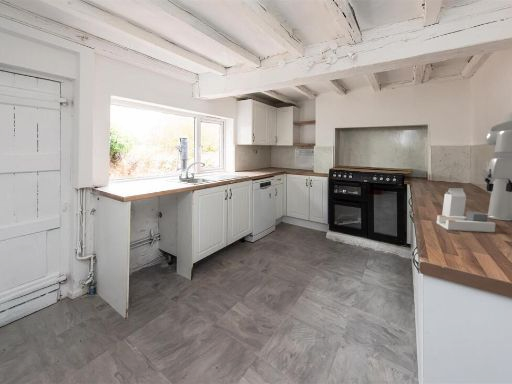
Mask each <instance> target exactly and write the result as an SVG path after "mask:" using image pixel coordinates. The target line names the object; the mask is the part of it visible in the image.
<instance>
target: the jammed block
mask: <svg viewBox="0 0 512 384" xmlns="http://www.w3.org/2000/svg"><path fill="white" fill-rule="evenodd" d="M465 217H466V220H465V221H482V222H488V215H487V214H486V213H483V212H482V211H481V212H480V211H466V213H465Z"/></svg>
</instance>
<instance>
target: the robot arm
mask: <svg viewBox="0 0 512 384" xmlns="http://www.w3.org/2000/svg"><path fill="white" fill-rule="evenodd" d="M484 142H485V144H486V145H487V146H489V147H490V146H491V147H493V146H495V147H494V153H493V158H491V159H490V161H489V163H488V167H487V171H486V172H485V173H483V174H481V178H482V179H483V180H484V182H485V183H486V191H487V192H489V193H490V198H489V199H490V200H489V205H488V213H487V212H486V213H485V214H487V215H488V217H487V219H492V220H493V219H494V220H497V221H512V112H509V113H507V114H506V116H505V117H504V118H503V121H502V122H500V123H498V124H496V125H492V127H490V128H489V129H488V131H487V133H486V134H485V139H484Z"/></svg>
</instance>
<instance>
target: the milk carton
mask: <svg viewBox="0 0 512 384" xmlns="http://www.w3.org/2000/svg"><path fill="white" fill-rule="evenodd" d="M466 202H467V195H466V193H465V191H464V188H462V187H461V188H460V187H459V188H458V187H457V188H456V187H455V188H453V187H452V188H450V187H449V188H448V190H447V191H446V192H445V193H444V198H443V205H442V212H441V213H442V214H441V215H444V216H463V217H465V208H466V204H467V203H466Z"/></svg>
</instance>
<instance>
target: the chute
mask: <svg viewBox="0 0 512 384" xmlns="http://www.w3.org/2000/svg"><path fill="white" fill-rule="evenodd" d="M436 217H437V218H436V224H437V225H439V226H440V227H442V228H444V229H446V230H448V231H449V230H450V231H463V232H465V231H466V232H482V233H483V232H487V233H495V232H496V223H495V222H493V221H487V222H482V221H465V220H466V216H464V217H463V216H444V215H442V214H437V216H436Z"/></svg>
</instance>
